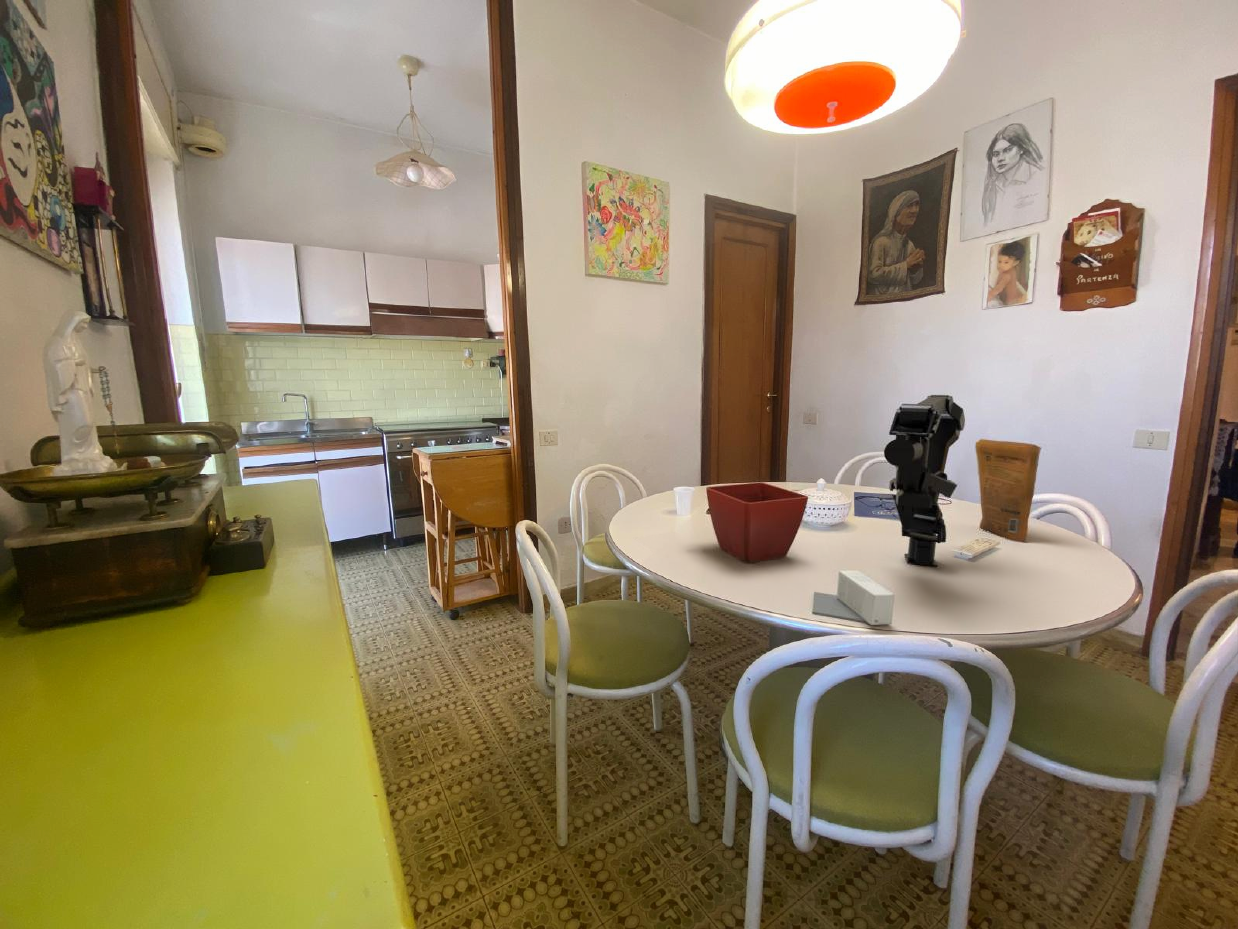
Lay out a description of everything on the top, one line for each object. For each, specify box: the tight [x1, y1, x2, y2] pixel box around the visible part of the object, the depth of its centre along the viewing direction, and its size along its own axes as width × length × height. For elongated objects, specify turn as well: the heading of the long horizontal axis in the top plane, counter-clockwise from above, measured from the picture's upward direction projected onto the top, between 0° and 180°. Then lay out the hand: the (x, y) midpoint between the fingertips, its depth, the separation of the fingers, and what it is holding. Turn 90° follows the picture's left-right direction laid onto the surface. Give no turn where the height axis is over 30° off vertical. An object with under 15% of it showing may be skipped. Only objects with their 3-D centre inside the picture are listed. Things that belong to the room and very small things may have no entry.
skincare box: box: [836, 570, 895, 626], centre depth 96 cm, size 6×4×12 cm
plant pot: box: [705, 482, 809, 563], centre depth 129 cm, size 19×19×17 cm
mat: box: [812, 591, 869, 624], centre depth 98 cm, size 10×11×1 cm
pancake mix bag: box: [974, 438, 1042, 543], centre depth 143 cm, size 7×19×28 cm, turn 5°
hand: (905, 529), depth 110 cm, fingers closed
